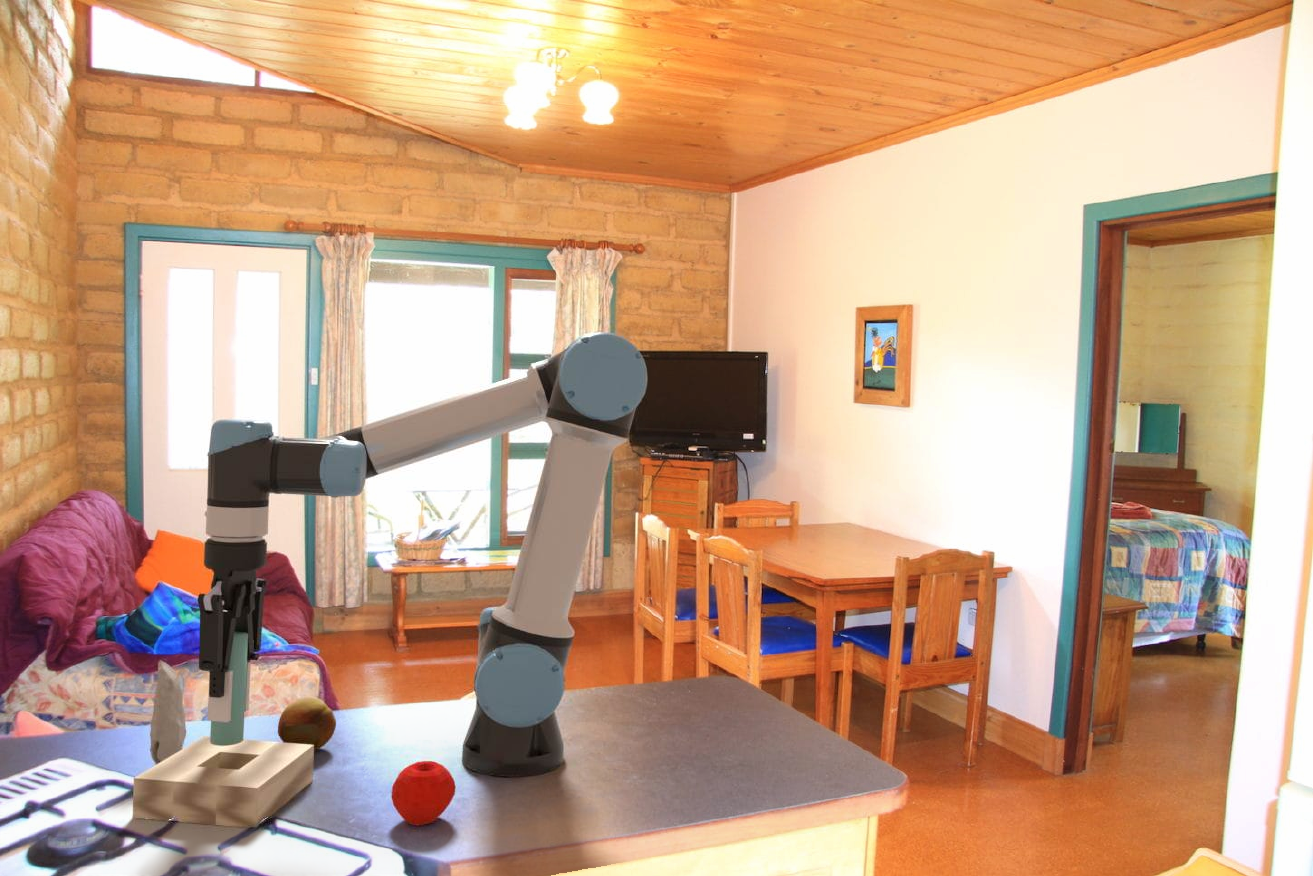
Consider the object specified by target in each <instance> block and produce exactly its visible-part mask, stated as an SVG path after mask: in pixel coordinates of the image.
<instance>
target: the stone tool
mask: <svg viewBox="0 0 1313 876" xmlns="http://www.w3.org/2000/svg"><path fill="white" fill-rule="evenodd" d="M157 667H158V668H157V669H158V670H157V683H156V687H155V692H154V693H155V694H154V698H153V712H152V717H151V720H150V732H149V733H150V734H149V736H150V747H149V748H150V749H149V751H150V754H151V755H150V756H151V759H152V761H153V763H154V764H155V765H157V764H158V763H160V762H162V761H163V760H165V759H167V758H168V757H170V756H172V755H174V754H175V753H177V752H179V751H180V750H182V749H183V748H184V743H185V739H186V736H187V727H186V712H185V706H184V702H183V701H184V700H183V689H182V688H181V686H180V681H179V678H178V677H179V676H178V674H177V673H176V670H175V671H174V669H173V668H172V667H171V666H170V664H168V663H166V662H164V661H163V660H159V661H158V662H157Z"/></svg>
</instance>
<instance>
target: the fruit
mask: <svg viewBox="0 0 1313 876" xmlns="http://www.w3.org/2000/svg"><path fill="white" fill-rule="evenodd" d="M277 724H278V725H277V734H278V736H279V739H280V740H281V741H282V742H283V743H296V744H309V745H314V752H316V751H317V750H319V749H320V748H322V747H324V746H325V745H326V744H327V743H328V742H329V741H330V740H331V739H332V737H333V735H334V733H335V731H336V726H337V719H336V717H335V714H334V713H333V710H332V709H331V708H330V707H328V705H327V704H326V703H325V702H324V701H323V700H322V699H321V698H318V697H315V696H305V697H301V698H298V699H296V700H294V701H292V702H291V703H290V704H288V706H286V707H285V708H284V709H283V711H282V713H281V715H280V717H279V720H278V723H277Z"/></svg>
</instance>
